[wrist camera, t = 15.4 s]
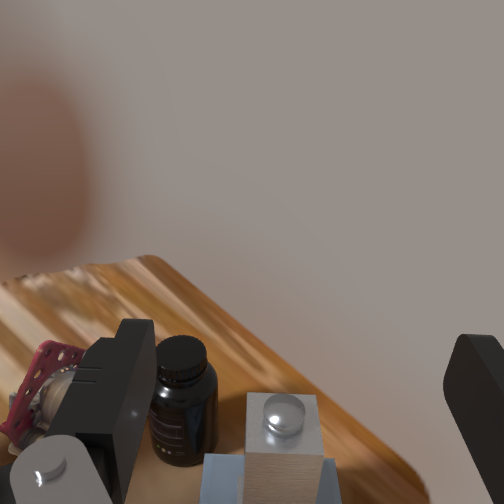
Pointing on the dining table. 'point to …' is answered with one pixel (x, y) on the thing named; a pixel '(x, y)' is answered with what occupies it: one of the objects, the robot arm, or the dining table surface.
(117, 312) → the dining table surface
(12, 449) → the brake caliper
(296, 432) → the block
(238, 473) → the stand
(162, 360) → the supplement bottle
